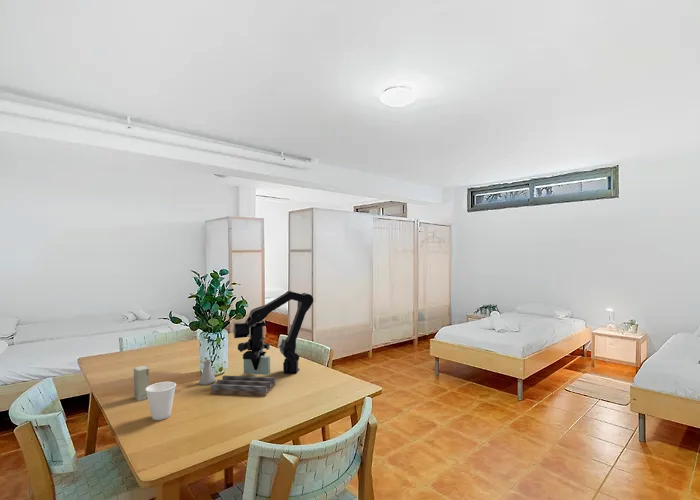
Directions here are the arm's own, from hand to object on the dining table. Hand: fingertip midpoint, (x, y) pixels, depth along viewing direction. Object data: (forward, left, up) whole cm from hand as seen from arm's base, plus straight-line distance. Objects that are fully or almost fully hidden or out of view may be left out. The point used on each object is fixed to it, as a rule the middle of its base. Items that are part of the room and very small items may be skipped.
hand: (257, 369), depth 172 cm
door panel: (0, 0, -2) cm, 2 cm away
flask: (+20, +9, -4) cm, 22 cm away
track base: (0, +15, -4) cm, 15 cm away
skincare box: (+38, +28, -4) cm, 47 cm away
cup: (+19, +43, -4) cm, 47 cm away
